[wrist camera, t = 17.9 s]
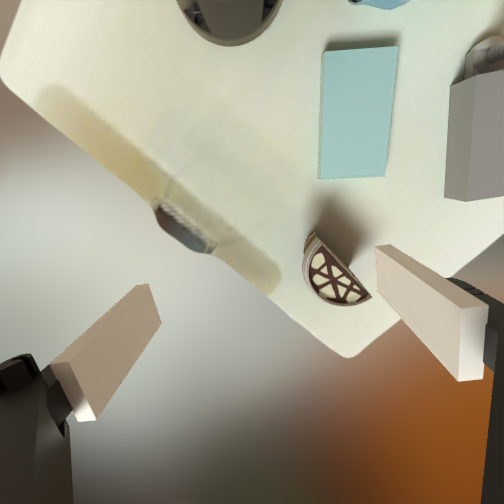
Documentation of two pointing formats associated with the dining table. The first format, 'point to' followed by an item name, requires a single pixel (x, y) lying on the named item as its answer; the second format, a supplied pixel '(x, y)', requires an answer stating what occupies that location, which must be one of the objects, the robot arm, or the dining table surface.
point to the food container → (330, 275)
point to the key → (495, 53)
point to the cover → (355, 111)
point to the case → (476, 129)
